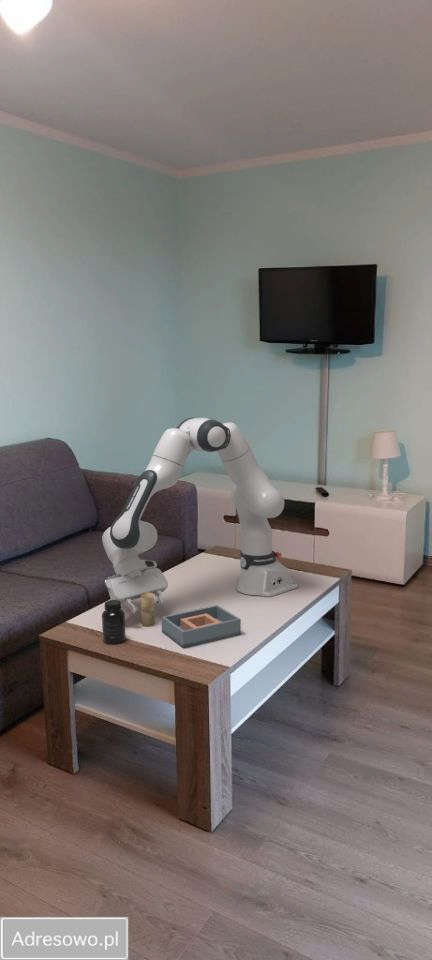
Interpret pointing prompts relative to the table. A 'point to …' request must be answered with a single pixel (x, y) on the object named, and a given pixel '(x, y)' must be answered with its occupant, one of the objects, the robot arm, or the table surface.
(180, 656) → the table surface
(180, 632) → the open-top box
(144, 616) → the beech peg
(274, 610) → the table surface
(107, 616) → the supplement bottle
